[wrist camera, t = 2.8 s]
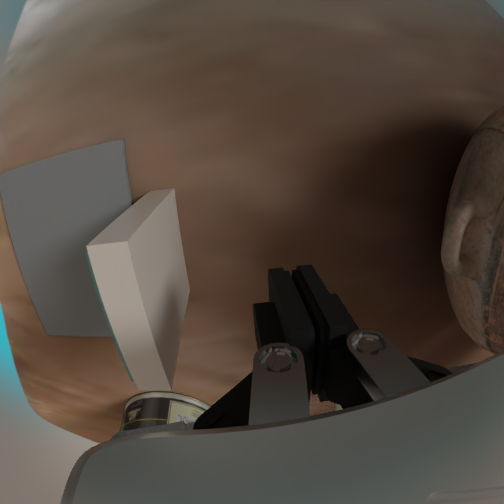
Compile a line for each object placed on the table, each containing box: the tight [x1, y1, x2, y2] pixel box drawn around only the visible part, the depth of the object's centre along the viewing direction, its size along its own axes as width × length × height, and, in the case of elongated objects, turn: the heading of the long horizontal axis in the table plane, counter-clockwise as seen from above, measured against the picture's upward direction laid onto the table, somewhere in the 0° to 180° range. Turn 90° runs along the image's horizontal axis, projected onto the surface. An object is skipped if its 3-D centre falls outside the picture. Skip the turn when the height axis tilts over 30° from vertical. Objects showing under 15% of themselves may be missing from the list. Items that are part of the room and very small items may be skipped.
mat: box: [0, 139, 133, 337], centre depth 18 cm, size 11×14×1 cm
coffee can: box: [120, 392, 210, 432], centre depth 19 cm, size 10×10×14 cm
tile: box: [85, 188, 190, 391], centre depth 14 cm, size 2×7×9 cm, turn 3°
